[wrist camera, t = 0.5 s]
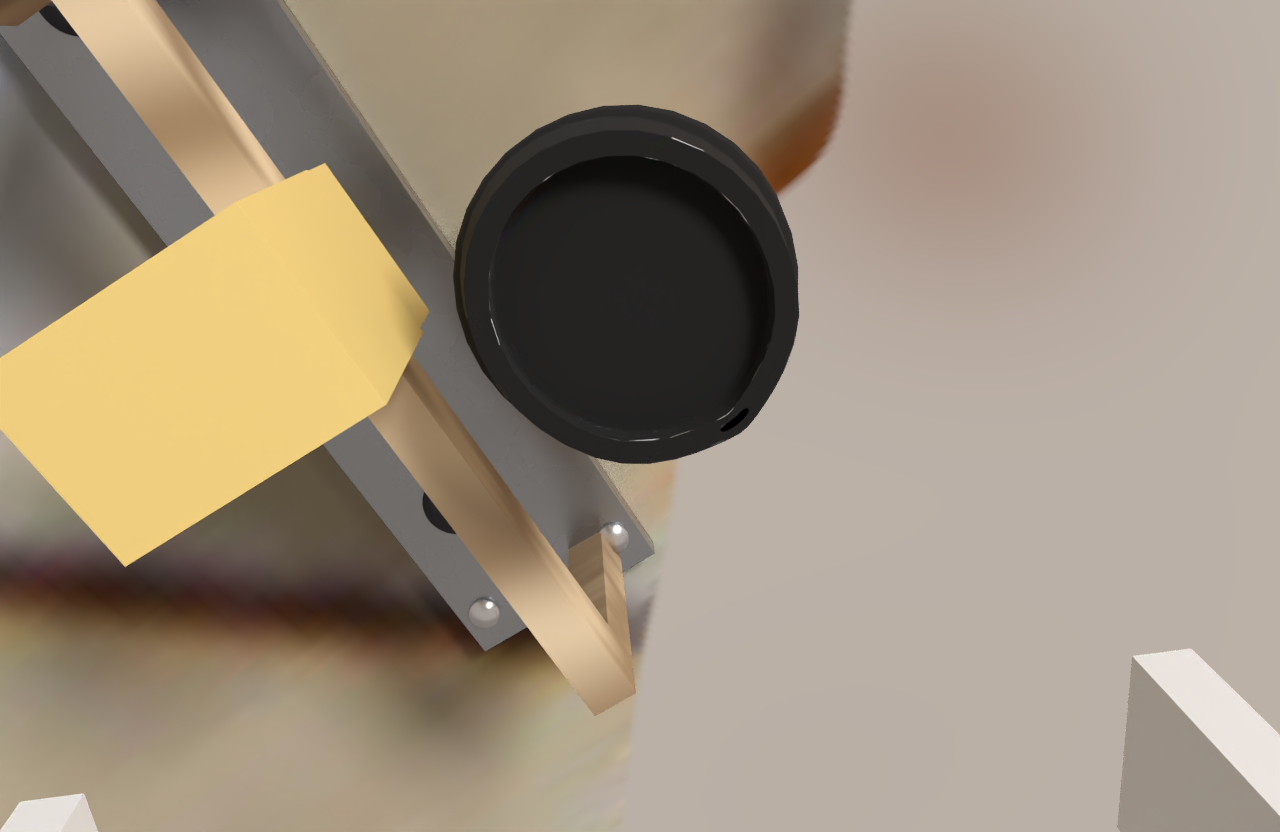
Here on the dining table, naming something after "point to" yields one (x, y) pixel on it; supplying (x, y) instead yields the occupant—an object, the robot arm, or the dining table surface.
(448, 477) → the bar
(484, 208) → the coffee cup
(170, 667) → the dining table surface
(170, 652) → the dining table surface
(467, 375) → the hole plate
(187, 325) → the slider head
